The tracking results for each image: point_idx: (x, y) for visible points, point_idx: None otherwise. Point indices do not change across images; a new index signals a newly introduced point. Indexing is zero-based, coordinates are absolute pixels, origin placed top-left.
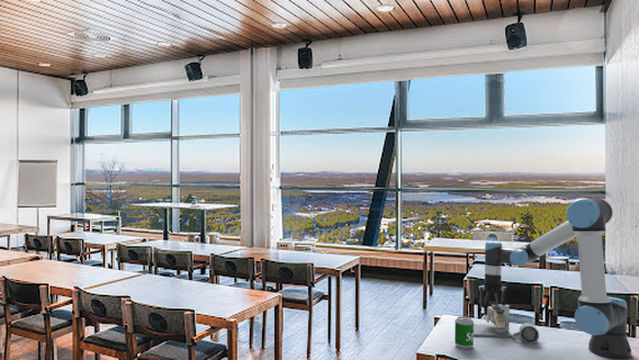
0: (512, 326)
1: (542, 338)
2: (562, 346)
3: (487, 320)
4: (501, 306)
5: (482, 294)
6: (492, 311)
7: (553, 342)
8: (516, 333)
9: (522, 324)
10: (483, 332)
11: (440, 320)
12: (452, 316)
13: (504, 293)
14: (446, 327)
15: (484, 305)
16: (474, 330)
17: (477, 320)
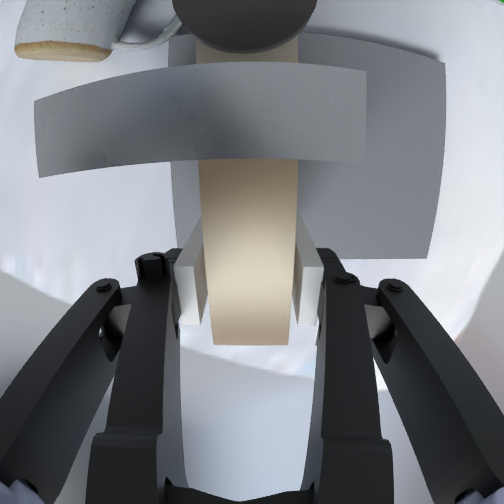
0: (110, 267)
1: (25, 83)
2: (9, 9)
3: (301, 221)
4: (173, 68)
5: (483, 412)
6: (295, 180)
7: (11, 43)
8: (139, 43)
9: (70, 27)
10: (370, 83)
11: (464, 322)
12: (383, 383)
13: (4, 429)
14: (494, 224)
15: (368, 305)
16: (414, 128)
17: (287, 352)
